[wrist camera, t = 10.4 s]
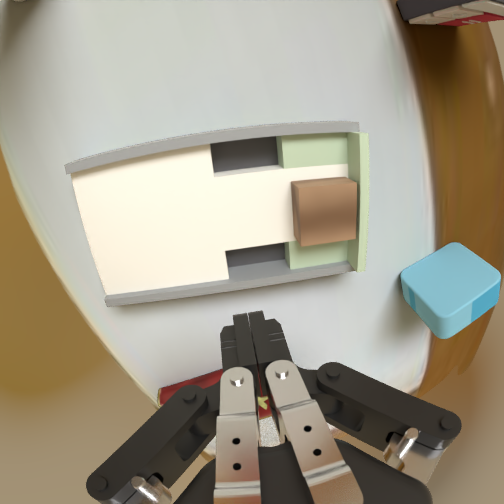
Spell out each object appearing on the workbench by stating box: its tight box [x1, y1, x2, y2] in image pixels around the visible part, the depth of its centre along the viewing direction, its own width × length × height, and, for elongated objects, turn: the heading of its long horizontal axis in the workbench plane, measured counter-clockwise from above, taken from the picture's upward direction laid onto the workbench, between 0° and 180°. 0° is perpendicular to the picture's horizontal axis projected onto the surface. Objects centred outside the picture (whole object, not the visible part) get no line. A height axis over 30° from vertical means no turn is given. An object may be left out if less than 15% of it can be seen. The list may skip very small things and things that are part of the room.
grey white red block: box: [397, 0, 504, 26], centre depth 18 cm, size 11×4×15 cm, turn 108°
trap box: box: [64, 121, 369, 307], centre depth 31 cm, size 17×30×6 cm, turn 96°
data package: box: [400, 242, 501, 339], centre depth 36 cm, size 12×4×12 cm, turn 114°
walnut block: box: [291, 177, 357, 247], centre depth 31 cm, size 6×6×3 cm
